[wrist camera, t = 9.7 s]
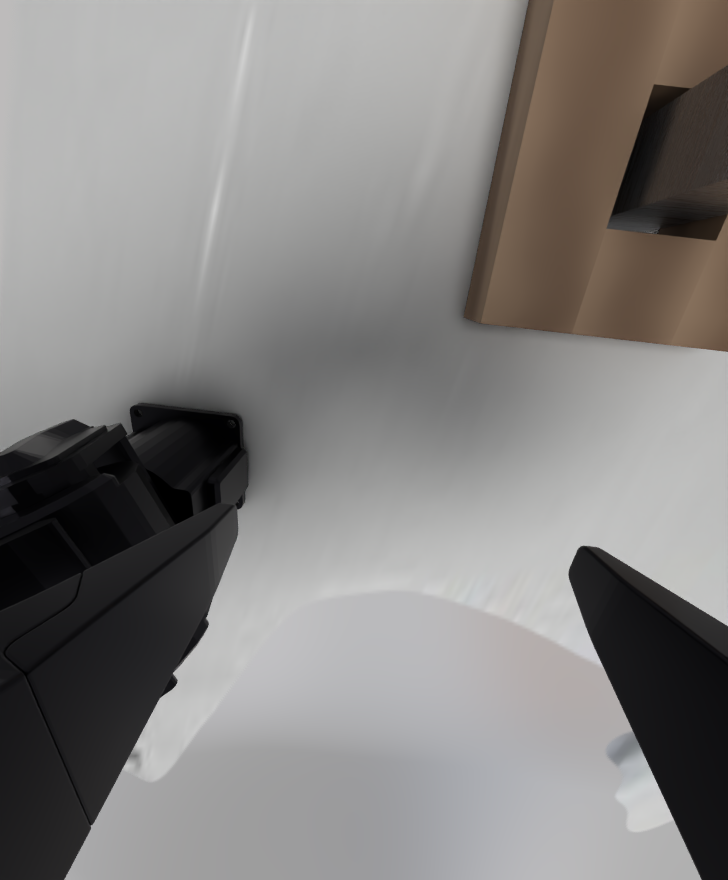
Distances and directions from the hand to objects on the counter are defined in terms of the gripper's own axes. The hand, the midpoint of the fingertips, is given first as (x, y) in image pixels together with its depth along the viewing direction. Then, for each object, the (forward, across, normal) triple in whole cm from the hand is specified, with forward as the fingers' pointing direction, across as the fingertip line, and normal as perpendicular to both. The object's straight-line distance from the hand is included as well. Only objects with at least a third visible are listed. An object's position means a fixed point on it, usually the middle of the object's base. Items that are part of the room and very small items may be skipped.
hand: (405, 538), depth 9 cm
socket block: (+12, -9, -11) cm, 19 cm away
